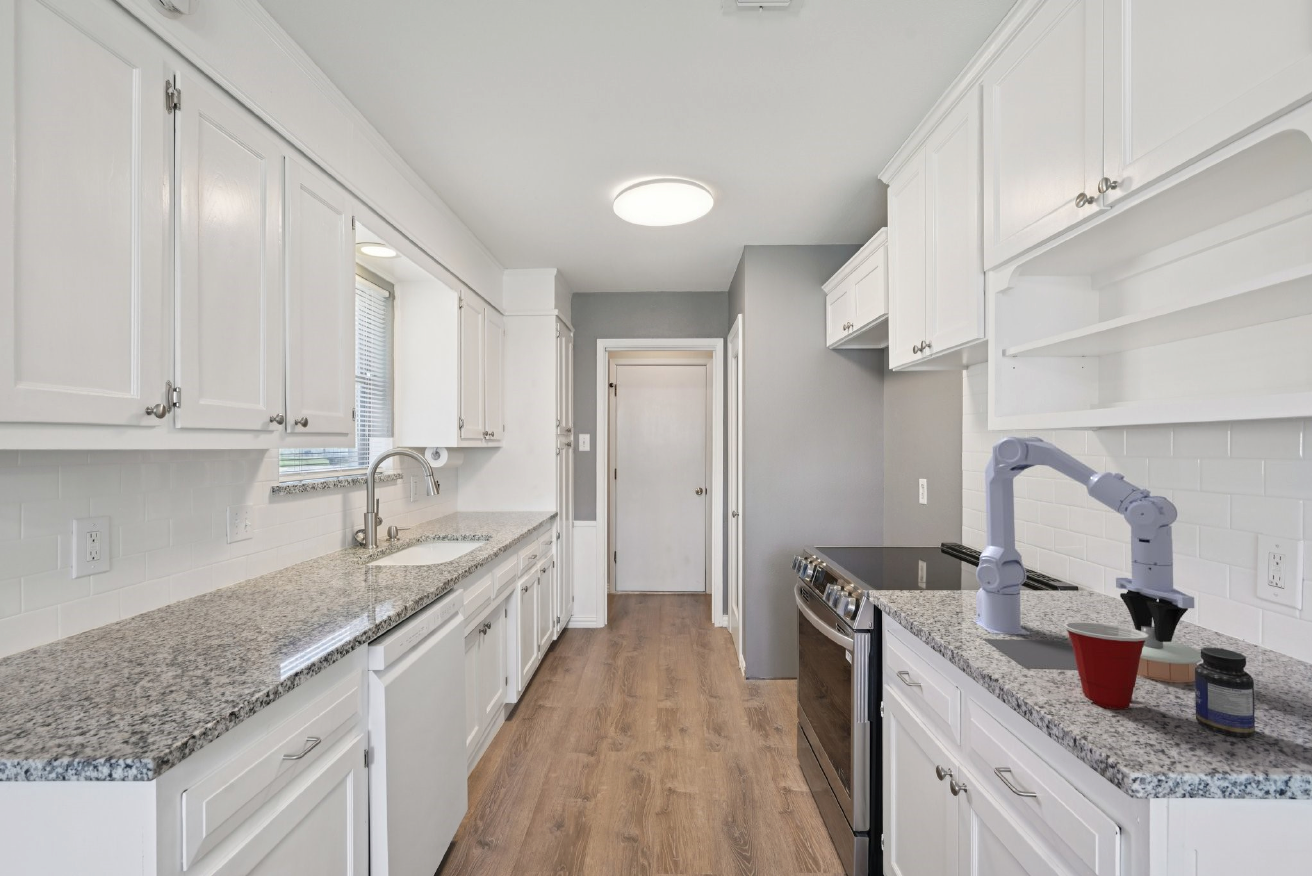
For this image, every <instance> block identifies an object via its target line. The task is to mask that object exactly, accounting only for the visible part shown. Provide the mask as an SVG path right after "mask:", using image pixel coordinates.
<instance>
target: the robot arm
mask: <svg viewBox="0 0 1312 876" xmlns="http://www.w3.org/2000/svg"><path fill="white" fill-rule="evenodd" d="M986 464H987V465H986V467H985V470H984V476H985V477H984V483H985V485H984V486H985V516H986V517H985V519H986V520H985V521H986V523H985V524H986V548H985V549H984V550H983V551H982V552H981V554H980V556H979V564H978V566H977V568H976V571H975V578H976V580H977V582H978V584H979V585H980V586H981V587H980V589H978V591H977V593H976V597H975V598H976V619H972V622H974V623H976V624H977V625H978V626H980V627H982V628H983V629H985V630H986V631H988V632H989V633H991V634H996V635H997V634H1001V635H1002V634H1003V635H1004V634H1005V635H1006V634H1007V635H1008V634H1010V635H1011V634H1012V635H1030V634H1031V633H1030V632H1029V631H1027V630H1026V629H1024V628H1022V619H1021V616H1022V615H1021V614H1022V613H1021V611H1022V610H1021V590H1022V589H1021V588H1022V587H1021V586H1022V585H1023V584H1024V583H1025V582H1026V580H1027V571H1026V568H1025V566H1024V564H1023V562H1022V561H1023V559H1022V555H1021V554H1020V552H1019V550H1018V549H1017V548H1016V534H1015V533H1016V531H1015V530H1016V529H1015V503H1014V500H1015V499H1014V498H1015V497H1014V494H1015V493H1014V479H1015V478H1016V477H1017V476H1018V475H1021V473H1022V472H1024V471H1025V470H1027V469H1030V468H1033V467H1035V466H1045V467H1046V466H1047V467H1049V468H1051V469H1053V470H1055V471H1057V472H1059V473H1061V474H1062V475H1065V476H1067V477H1068V478H1070V479H1073V480H1074V481H1075V482H1078V483H1080V484H1081V485H1083V486H1085V487H1086V489H1087V493H1088V495H1089V496H1090V497H1091V498H1093V499H1095V500H1096V501H1098V502H1099V503H1101V504H1103V505H1104V506H1106V507H1108V508H1110V509H1111V510H1113V511H1115V512H1116V513H1118V514H1119V515H1122V516H1123V517H1124V519H1125V521H1126V522H1127V524H1128V525H1129V526H1130V552H1131V555H1130V557H1131V558H1130V559H1131V578H1128V577H1115V588H1117V589H1120V590H1123V589H1124V590H1127V591H1126V592H1121V593H1120V594H1119V597H1120V599H1121V600H1122V601H1123V603H1124V605H1125V606H1126V608H1127V610H1128V612H1129V614H1130V617H1131V619H1132V622H1133V626H1134V629H1135V630H1138V631H1141V626H1153V627H1154V630H1155V637H1156V640H1157V641H1159V642H1171V641H1173V637H1174V634H1175V631H1176V628H1177V625H1179V622H1180V620H1181V619H1182V618H1183V616H1184V614H1186V612H1187V611H1188V610H1189V609H1195V597H1194V596H1191V595H1188V594H1186V593H1184V592H1182V591H1180V590H1178V589H1176V588H1174V562H1173V561H1174V558H1173V555H1174V551H1173V539H1172V538H1173V535H1172V534H1173V531H1172V530H1173V529H1172V524H1174V523H1175V522H1176V520H1177V518H1178V510H1177V508H1176V506H1175V505H1174V503H1173V502H1171V501H1170V500H1168V499H1167V497H1165V496H1161V495H1151V491H1150V490H1148V489H1147V488H1143V489H1141V488H1139V487H1138V486H1136V485H1134V484H1133V483H1131V482H1129V481H1127V480H1125V479H1124V478H1125V476H1124V475H1123V474H1121V473H1120V472H1114V473H1112V472H1110V471H1107V472H1106V471H1105V472H1101V473H1099V472H1098V471H1095V470H1094V469H1092V468H1091V467H1090V466H1087V465H1086V464H1085V463H1083V462H1082V461H1079V460H1078V459H1077V458H1075V457H1073V456H1072V455H1070V454H1068V453H1067V452H1065V451H1063V450H1061V448H1059V447H1057V446H1056V445H1055V444H1053V443H1051V442H1048V441H1045V440H1043V439H1042V438H1041V437H1038V436H1029V437H1025V436H1021V437H1017V436H1006V437H1003V438H1002V439H1000V440H999V441H998V442H997V443H995V444H994V445H992V455H991V457H990V458H989V461H988V463H986Z"/></svg>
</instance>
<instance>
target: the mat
mask: <svg viewBox="0 0 1312 876" xmlns="http://www.w3.org/2000/svg"><path fill="white" fill-rule="evenodd" d="M982 640H983V641H985V643H988V644H989V645H991V646H992V647H994V648H995V649H996V650H997V651H999V652H1000V653H1002V654H1003V655H1005V656H1006V657H1007V658H1009V659H1010V660H1012V661H1013V662H1015V663H1016V664H1017V665H1019V666H1021V667H1022V668H1024V669H1028V670H1029V669H1032V670H1034V669H1035V670H1064V671H1065V670H1069V671H1070V670H1072V671H1073V670H1074V671H1078V669H1077V664H1076V660H1075V655H1074V651H1073V646H1072V644H1069V643H1067V642H1065V641H1064V640H1058V639H1057V640H1054V639H1053V640H1051V639H1050V640H1046V639H1009V638H1008V639H1007V638H1004V639H1003V638H982Z"/></svg>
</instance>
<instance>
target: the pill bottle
mask: <svg viewBox="0 0 1312 876" xmlns="http://www.w3.org/2000/svg"><path fill="white" fill-rule="evenodd" d="M1200 652H1201V658H1202V662H1200V663H1197V666H1196V667H1195V680H1194V687H1195V688H1194V691H1195V692H1194V693H1195V700H1194V702H1195V719H1196V722H1197V723H1198V724H1199V725H1201V726H1202V727H1203V728H1206V729H1207V730H1209V731H1212V732H1215V733H1218V734H1222V735H1226V736H1230V737H1235V738H1251V737H1252V736H1254V734H1255V733H1256V730H1255V729H1256V726H1255V724H1256V723H1255V721H1256V717H1255V713H1256V712H1255V692H1254V691H1255V684H1254V683H1255V680H1254V677H1252V675H1251V674H1250V673H1248V672H1247V671H1245V670H1244V669H1245V667H1246V666H1247V657H1246V656H1245V655H1243V654H1242V653H1240V652H1237V651H1235V650H1230V649H1225V648H1219V647H1210V646H1209V647H1208V646H1206V647H1202V648H1200Z"/></svg>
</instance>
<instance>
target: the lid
mask: <svg viewBox="0 0 1312 876" xmlns="http://www.w3.org/2000/svg"><path fill="white" fill-rule="evenodd" d="M1141 632H1144V633H1146V634H1147V635H1149V636H1148V638H1147V639H1146V641H1145V643H1144V647H1143V648H1142V654H1141V656H1140V658H1143V659H1148V660H1153V661H1159V662H1166V663H1176V664H1193V663H1197V664H1199V663H1201V662H1202V661H1203V659H1202V658H1201V651H1200V650H1198V649H1196V648H1194V647H1192V646H1190V645H1187V644H1184V643H1181V642H1178V641H1174V640H1172V641H1171V642H1159V641H1157V640H1156V637H1155V630H1154V625H1152V626H1141Z"/></svg>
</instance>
